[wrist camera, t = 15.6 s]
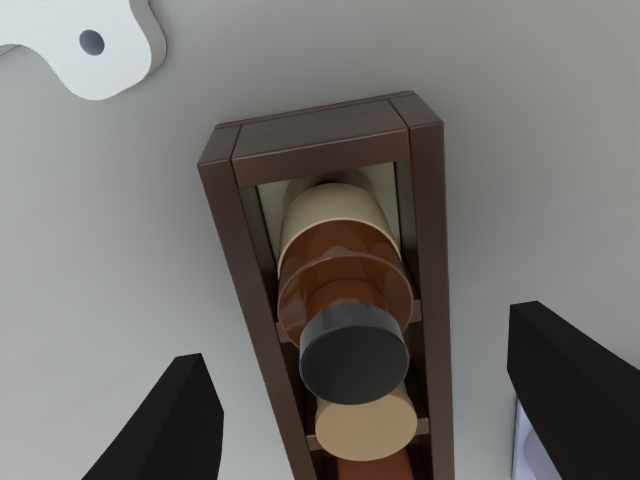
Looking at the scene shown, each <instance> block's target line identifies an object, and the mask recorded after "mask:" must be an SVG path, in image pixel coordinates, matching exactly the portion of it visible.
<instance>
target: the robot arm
mask: <svg viewBox="0 0 640 480" xmlns="http://www.w3.org/2000/svg"><path fill="white" fill-rule="evenodd" d="M507 371H508V374H509V376H510V379H511V381H512V384H513V386H514V389H515V391H516V394H517V396H518V401H517V416H516V430H515V445H514V459H513V474H512V480H640V370H638V369H637V368H635V367H633V366H632V365H630V364H629V363H627V362H626V361H624V360H622V359H621V358H619V357H618V356H616V355H615V354H613V353H612V352H610V351H609V350H607V349H606V348H604V347H603V346H601V345H600V344H598V343H597V342H596V341H594V340H593V339H591V338H590V337H588V336H587V335H585V334H584V333H583V332H581V331H580V330H578V329H577V328H575V327H574V326H573V325H571V324H570V323H568V322H567V321H566V320H564V319H563V318H561V317H560V316H558V315H557V314H556V313H554V312H553V311H551V310H550V309H549V308H547V307H546V306H544V305H543V304H541V303H540V302H538V301H531V302H525V303H518V304H512V305H510V317H509V338H508V359H507ZM223 423H224V411H223V408H222V406H221V403H220V401H219V398H218V396H217V393H216V390H215V388H214V385H213V383H212V380H211V377H210V375H209V372H208V370H207V367H206V364H205V362H204V359H203V357H202V354H201V353H197V354H191V355H184V356H178V357H175V359H174V360H173V361H172V363H171V364H170V365H169V367H168V368H167V369H166V371H165V372H164V373H163V375H162V376H161V377H160V379H159V380H158V382H157V383H156V384H155V386H154V387H153V389H152V390H151V391H150V393H149V394H148V395H147V397H146V398H145V400H144V401H143V402H142V404H141V405H140V406H139V408H138V409H137V410H136V412H135V413H134V414H133V416H132V417H131V418H130V420H129V421H128V422H127V424H126V425H125V426H124V428H123V429H122V430H121V432H120V433H119V434H118V436H117V437H116V438H115V439H114V441H113V442H112V443H111V444H110V446H109V447H108V448H107V449H106V450H105V452H104V453H103V454H102V455H101V457H100V458H99V459H98V460H97V461H96V463H95V464H94V465H93V466H92V468H91V469H90V470H89V471H88V473H87V474H86V475H85V476H84V477H83V478H82V479H81V480H217V477H218V472H219V466H220V460H221V454H222V440H223Z"/></svg>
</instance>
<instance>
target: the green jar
mask: <svg viewBox="0 0 640 480" xmlns="http://www.w3.org/2000/svg"><path fill="white" fill-rule="evenodd" d="M316 399H317V412H316V416H315V432H316V437H317V439H318V441H319V443H320V444H321V446H322V447H323V448H324V449H325V450H326V451H328V452H329V453H331V454H332V455H334V456H336V457H339V458H342V459H346V460H352V461H371V460H376V459H381V458H384V457H387V456H390V455H392V454H394V453H396V452H398V451H399V450H401V449H402V448H403V447H405V446H406V445H407V444H408V443H409V442H410V441H411V439H412V438H413V436H414V434H415V432H416V429H417V415H416V412H415V408H414V405H413V403H412V401H411V400H410V398H409V397H408V393H407V389H406V386H405V382H404V380H403V381H402V382H401V384H400V385H399V386H398V387H397V388H396V389H395V390H394V391H392V392H391V393H390V394H388V395H386V396H385V397H383V398H381V399H379V400H376V401H373V402H370V403H366V404H361V405H340V404H334V403H331V402H328V401H325V400H323V399H321V398H319V397H317V396H316Z"/></svg>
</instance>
